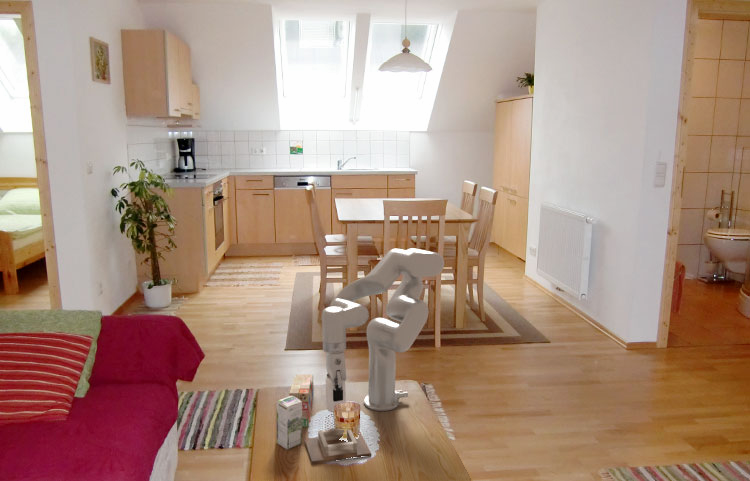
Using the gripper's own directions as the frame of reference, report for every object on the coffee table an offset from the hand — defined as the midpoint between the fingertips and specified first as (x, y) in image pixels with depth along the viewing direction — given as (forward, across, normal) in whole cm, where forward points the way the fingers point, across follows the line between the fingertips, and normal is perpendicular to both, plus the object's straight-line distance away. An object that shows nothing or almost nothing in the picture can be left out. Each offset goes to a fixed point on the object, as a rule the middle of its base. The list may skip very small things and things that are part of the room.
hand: (335, 395), depth 192 cm
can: (+5, 0, 0) cm, 5 cm away
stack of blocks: (+10, +11, +10) cm, 18 cm away
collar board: (+10, -16, +3) cm, 19 cm away
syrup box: (+10, -9, +17) cm, 22 cm away
